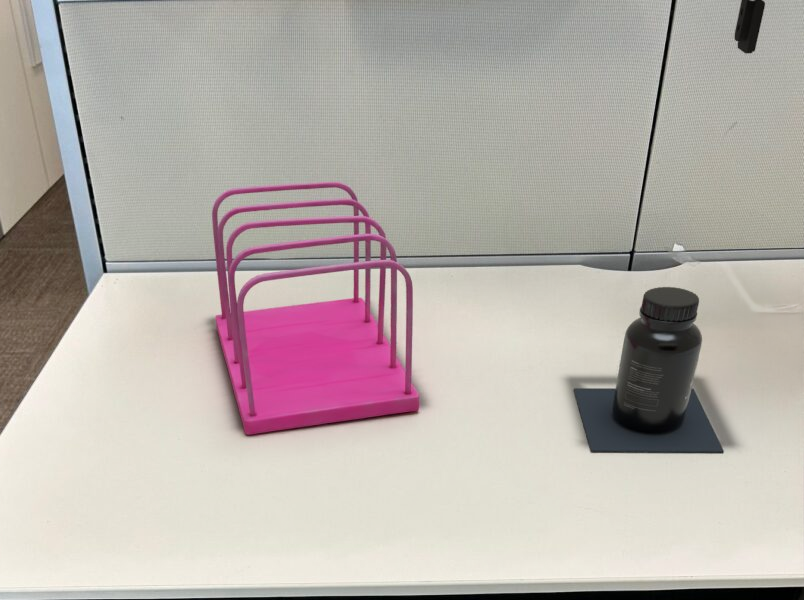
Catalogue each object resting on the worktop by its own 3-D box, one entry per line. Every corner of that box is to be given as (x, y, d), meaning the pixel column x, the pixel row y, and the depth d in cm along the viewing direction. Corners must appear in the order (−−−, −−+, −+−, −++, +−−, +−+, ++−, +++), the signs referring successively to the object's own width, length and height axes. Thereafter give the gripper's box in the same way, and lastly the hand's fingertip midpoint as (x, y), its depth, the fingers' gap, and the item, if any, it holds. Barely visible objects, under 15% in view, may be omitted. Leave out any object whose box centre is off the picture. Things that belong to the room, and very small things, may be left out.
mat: (693, 390, 94) (693, 388, 94) (723, 452, 85) (723, 451, 84) (573, 390, 94) (573, 388, 94) (590, 452, 85) (591, 450, 85)
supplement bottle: (698, 426, 88) (729, 304, 80) (637, 441, 86) (662, 318, 78) (655, 394, 93) (680, 276, 85) (596, 408, 91) (616, 289, 83)
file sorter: (362, 312, 110) (359, 172, 100) (420, 413, 91) (424, 254, 81) (216, 329, 107) (198, 187, 97) (245, 436, 89) (227, 275, 79)
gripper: (763, -198, 70) (712, 60, 81) (1000, -207, 69) (915, 56, 80) (736, -198, 76) (692, 43, 87) (955, -206, 75) (882, 39, 86)
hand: (799, 49), depth 83 cm, fingers open, 9 cm apart
